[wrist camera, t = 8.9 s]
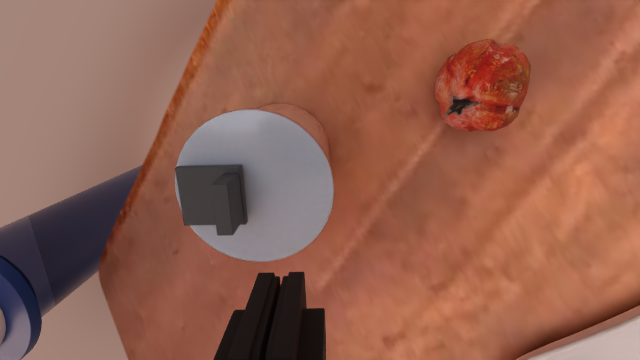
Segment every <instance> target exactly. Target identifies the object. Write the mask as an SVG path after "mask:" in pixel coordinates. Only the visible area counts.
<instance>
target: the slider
mask: <svg viewBox="0 0 640 360" xmlns="http://www.w3.org/2000/svg"><path fill="white" fill-rule="evenodd" d="M175 172H176V178H177V184H178V190H179V196H180V202H181V208H182V215H183V221H184V225H216V230H217V235H218V236H228V235H234V233H235V232H236V230H237V229H238V227H239V226H240V225H246V224H247V222H248V216H247V206H246V197H245V187H244V178H243V168H242V165H241V164H236V165H192V166H178V167H176V168H175Z"/></svg>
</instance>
